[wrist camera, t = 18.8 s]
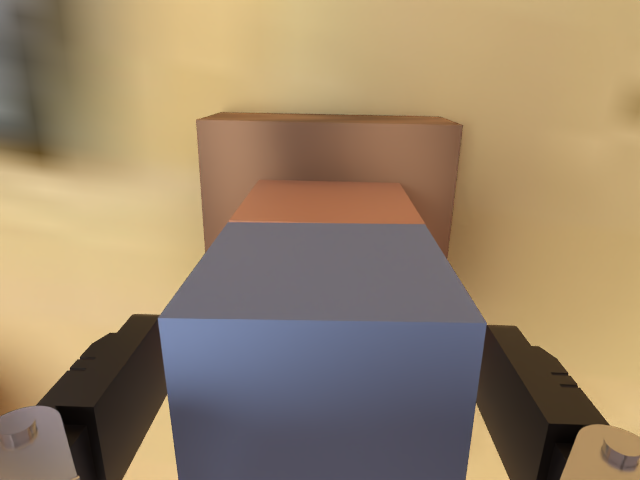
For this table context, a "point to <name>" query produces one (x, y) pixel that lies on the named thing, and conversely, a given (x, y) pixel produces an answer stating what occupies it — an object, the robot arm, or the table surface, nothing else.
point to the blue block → (322, 356)
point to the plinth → (328, 159)
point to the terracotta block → (327, 203)
